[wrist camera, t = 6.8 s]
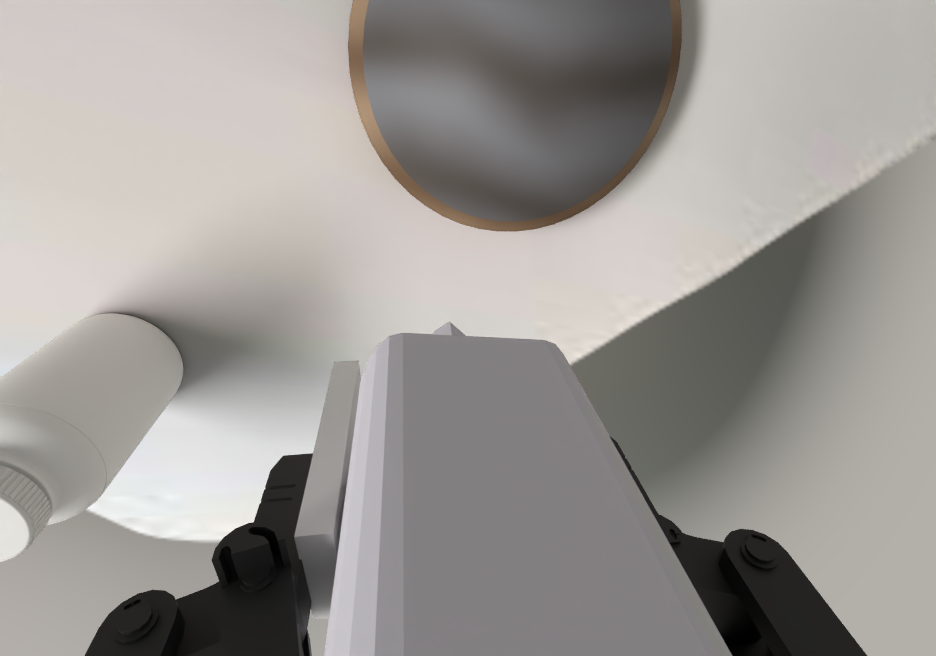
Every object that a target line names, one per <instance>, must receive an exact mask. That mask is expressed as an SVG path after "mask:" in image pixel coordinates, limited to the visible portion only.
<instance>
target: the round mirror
mask: <svg viewBox="0 0 936 656" xmlns="http://www.w3.org/2000/svg"><path fill="white" fill-rule="evenodd" d="M680 49H681V8H680V0H353V4H352V10H351V15H350V24H349V41H348V51H349V68H350V77H351V82H352V88H353V93H354V98H355V102H356V105H357V108H358V111H359V115H360V118H361V121H362V123H363V126H364V128H365V130H366V133H367V135H368V137H369V139H370V142H371V143H372V145H373V147H374V149H375V150H376V152H377V154H378V155H379V157H380V159H381V160H382V162H383V163H384V165H385V166H386V167H387V169H388V170H389V171H390V172H391V174H392V175H393V176H394V178H395V179H396V180H397V181H398V182H399V183H400V184H401V185H402V186H403V187H404V188H405V189H406V190H407V191H408V192H409V193H410V194H411V195H412V196H414V197H415V198H416V199H418V200H419V201H420V202H421V203H423V204H424V205H425V206H427V207H428V208H430V209H432V210H433V211H435V212H437V213H439V214H440V215H442V216H444V217H446V218H449V219H451V220H453V221H456V222H458V223H460V224H464V225H467V226H471V227H475V228H478V229H485V230H492V231H523V230H531V229H537V228H541V227H545V226H549V225H553V224H555V223H558V222H560V221H563V220H565V219H568V218H571V217H572V216H574V215H576V214H578V213H580V212H582V211H584V210H585V209H587V208H589V207H590V206H592V205H593V204H595V203H596V202H597V201H599V200H600V199H602V198H603V197H604V196H606V195H607V194H608V193H609V192H610V191H611V190H612V189H614V188H615V187H616V186H617V185H618V184H619V183H620V182H621V181H622V180H623V179H624V178H625V177H626V176H627V174H628V173H629V172H630V171H631V170H632V169H633V168H634V166H635V165H636V164H637V162H638V161H639V160H640V158H641V157H642V155H643V154H644V153H645V151H646V150H647V148H648V146H649V145H650V143H651V141H652V140H653V138H654V136H655V134H656V133H657V131H658V129H659V126H660V124H661V122H662V120H663V117H664V115H665V113H666V111H667V108H668V105H669V102H670V98H671V95H672V92H673V89H674V85H675V81H676V76H677V71H678V66H679V59H680Z"/></svg>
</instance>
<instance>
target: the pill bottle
mask: <svg viewBox="0 0 936 656" xmlns="http://www.w3.org/2000/svg"><path fill="white" fill-rule="evenodd" d="M182 378H183V362H182V358H181V356H180V353H179V351H178V349H177V347H176V346H175V344H174V343H173V342H172V340H171V339H170V338H169V337H168V336H167V335H166V334H165V333H164V332H162V331H161V330H160V329H158V328H157V327H155V326H154V325H152V324H150V323H148V322H146V321H144V320H142V319H139V318H136V317H133V316H129V315H124V314H99V315H94V316H91V317H88V318H85V319H83V320H81V321H79V322H77V323H75V324H73V325H72V326H70V327H69V328H68V329H66V330H65V331H63V332H62V333H61V334H59V335H58V336H57V337H55V338H54V339H53V340H51V341H50V342H49V343H47V344H46V345H44V346H43V347H42V348H40V349H39V350H38V351H36V352H35V353H34V354H32V355H31V356H30V357H28V358H27V359H26V360H24V361H23V362H21V363H20V364H19V365H17V366H16V367H15V368H13V369H12V370H11V371H9V372H8V373H7V374H5V375H4V376H2V377H1V378H0V562H2V561H6V560H9V559H11V558H13V557H15V556H18V555H20V553H23V552H24V551H25V550H27V549H28V548H29V547H30V546H31V544H32V543H33V542H34V540H35V539H36V538H37V537H38V535H39V534H40V533H41V532H42V530H43V529H44V528H45V526H46V525H49V524H54V523H58V522H61V521H64V520H67V519H69V518H71V517H74V516H75V515H77V514H79V513H81V512H82V511H84V510H85V509H87V508H88V507H89V506H91V505H92V504H93V503H94V502H96V501H97V499H98V498H99V497H100V496H101V495H102V494H103V492H104V491H105V490H106V488H107V487H108V486H109V484H110V483H111V482H112V480H113V479H114V477H115V476H116V475H117V473H118V472H119V471H120V469H121V468H122V467H123V465H124V464H125V462H126V461H127V460H128V458H129V457H130V456H131V454H132V453H133V451H134V450H135V449H136V447H137V446H138V445H139V443H140V442H141V441H142V439H143V438H144V436H145V435H146V434H147V432H148V431H149V430H150V428H151V427H152V425H153V424H154V423H155V421H156V420H157V419H158V417H159V416H160V415H161V413H162V412H163V410H164V409H165V408H166V406H167V405H168V404H169V402H170V401H171V399H172V398H173V397H174V395H175V394H176V392H177V390H178V388H179V386H180V384H181V381H182Z"/></svg>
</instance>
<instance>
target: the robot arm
mask: <svg viewBox="0 0 936 656" xmlns="http://www.w3.org/2000/svg"><path fill="white" fill-rule="evenodd" d="M360 382H361V377H360V369H359V361H342V362H334V365H333V369H332V374H331V378H330V382H329V387H328V391H327V395H326V400H325V404H324V408H323V413H322V417H321V422H320V426H319V430H318V435H317V439H316V443H315V448H314V452H313V454H300V455H287V456H283V457H282V458H281V459H280V460H279V461H278V463H277V464H276V465H275V466H274V467H273V468H272V470H271V471H270V474H269V477H268V480H267V483H266V486H265V487H266V489H265V490H264V493H263V496H262V499H261V503H260V505H259V508H258V511H257V514H256V517H255V520H254V522H253V523H248V524H246V525H243V526H241V527H238V528H236V529H235V530H233V531H232V532H231V533H229V534H228V535H227V536H225V537H224V538H223V539H222V540H221V542H220V543H219V544H218V546H217V547H216V548H215V551H214V555H213V558H212V562H213V565H214V568H215V570H216V573H217V576H218V579H219V582H217V583H216V584H214V585H212V586H210V587H208V588H205V589H203V590H200V591H198V592H195V593H193V594H190V595H187V596H185V597H182V598H179V599H177V600H175V598H174V596H173V595H171V594H169V593H168V592H166V591H161V590H151V591H147V592H143V593H139V594H137V595H135V596H133V597H131V598H129V599H128V600H126V601H124V602H123V603H121V604H120V605H119V606H118V607H117V608H116V609H114V610H113V611H112V612H111V613H110V614H109V615H108V616H107V618H106V619H105V620H104V622H103V623H102V625H101V626H100V627H99V629H98V631H97V633H96V635H95V637H94V639H93V641H92V643H91V645H90V646H89V648H88V650H87V652H86V654H85V656H312V654H311V645H310V638H309V634H308V630H307V626H308V620H309V614H310V609H311V610H312V615H313V619H314V620H316V619H325V618H329V616H330V608H331V601H332V593H333V586H334V578H335V570H336V563H337V555H338V548H339V540H340V533H341V525H342V518H343V510H344V502H345V495H346V487H347V480H348V472H349V465H350V457H351V450H352V442H353V434H354V427H355V419H356V412H357V404H358V397H359V389H360ZM610 438H611V437H610ZM611 440H612V442H613V444H614V445H615V447H616V449H617V451H618V453H619V454H620V456H621V458H622V460H623V461H624V463H625V465H626V467H627V469H628V470H629V472H630V474H631V476H632V478H633V479H634V481H635V483H636V485H637V486H638V488H639V490H640V492H641V494H642V495H643V497H644V499H645V501H646V503H647V504H648V506H649V508H650V510H651V511H652V513H653V515H654V517H655V519H656V520H657V522H658V524H659V526H660V528H661V529H662V531H663V533H664V535H665V536H666V538H667V540H668V542H669V544H670V545H671V547H672V549H673V551H674V553H675V554H676V556H677V558H678V560H679V561H680V563H681V565H682V567H683V569H684V570H685V572H686V574H687V576H688V578H689V579H690V581H691V583H692V585H693V586H694V588H695V590H696V592H697V594H698V595H699V597H700V599H701V601H702V603H703V604H704V606H705V608H706V610H707V611H708V613H709V615H710V617H711V619H712V620H713V622H714V624H715V626H716V628H717V629H718V631H719V633H720V635H721V637H722V638H723V640H724V642H725V644H726V645H727V647H728V649H729V651H730V653H731V654H732V656H867V655H866V654H865V652H864V651H863V650H862V648H861V647H860V646H859V645H858V643H857V642H856V641H855V639H854V638H853V637H852V636H851V634H850V633H849V632H848V630H847V629H846V628H845V626H844V625H843V624H842V622H841V621H840V620H839V619H838V618H837V616H836V615H835V614H834V612H833V611H832V609H831V608H830V607H829V606H828V604H827V603H826V602H825V600H824V599H823V598H822V596H821V595H820V594H819V593H818V591H817V590H816V589H815V588H814V586H813V585H812V583H811V582H810V581H809V580H808V578H807V577H806V576H805V574H804V573H803V572H802V570H801V569H800V568H799V567H798V565H797V564H796V563H795V561H794V560H793V559H792V557H791V556H790V555H789V554H788V552H787V551H786V550H785V549H784V548H783V547H782V546H781V545H780V544H779V543H778V542H776V541H775V540H773V539H771V538H770V537H768V536H767V535H765V534H762V533H759V532H756V531H754V530H746V529H739V530H735V531H732V532H730V533H729V534H728V535H727V537H726V538H725V540H724V542H719V541H713V540H708V539H702V538H697V537H693V536H690V535H686V534H684V533H682V532H681V530H680V529H679V528H678V527H677V526H676V525H675V524H674V523H673V522H672V521H670V520H668V519H667V518H665V517H663V516H661V515H659V514H658V513H657V511H656V510H655V508H654V506H653V504H652V503H651V501H650V499H649V498H648V496H647V494H646V492H645V490H644V489H643V487H642V485H641V484H640V482H639V480H638V478H637V476H636V475H635V473H634V471H633V470H632V469H631V466H630V464H629V462H628V461H627V459H625V455H624V454H623V452H622V450H621V448H620V447H619V445H618V443H617V442H616V441H615V440H614V439H612V438H611Z"/></svg>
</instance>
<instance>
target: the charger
mask: <svg viewBox="0 0 936 656" xmlns="http://www.w3.org/2000/svg"><path fill="white" fill-rule="evenodd" d="M324 656H732V654H731V653H730V651H729V649H728V647H727V645H726V644H725V642H724V640H723V638H722V637H721V635H720V633H719V631H718V629H717V628H716V626H715V624H714V622H713V620H712V619H711V617H710V615H709V613H708V611H707V610H706V608H705V606H704V604H703V603H702V601H701V599H700V597H699V595H698V594H697V592H696V590H695V588H694V586H693V585H692V583H691V581H690V579H689V578H688V576H687V574H686V572H685V570H684V569H683V567H682V565H681V563H680V561H679V560H678V558H677V556H676V554H675V553H674V551H673V549H672V547H671V545H670V544H669V542H668V540H667V538H666V536H665V535H664V533H663V531H662V529H661V528H660V526H659V524H658V522H657V520H656V519H655V517H654V515H653V513H652V511H651V510H650V508H649V506H648V504H647V503H646V501H645V499H644V497H643V495H642V494H641V492H640V490H639V488H638V486H637V485H636V483H635V481H634V479H633V478H632V476H631V474H630V472H629V470H628V469H627V467H626V465H625V463H624V461H623V460H622V458H621V456H620V454H619V453H618V451H617V449H616V447H615V445H614V444H613V442H612V440H611V438H610V436H609V435H608V433H607V431H606V429H605V428H604V426H603V424H602V422H601V420H600V419H599V417H598V415H597V414H596V412H595V410H594V408H593V406H592V404H591V403H590V401H589V399H588V398H587V395H586V394H585V392H584V390H583V388H582V387H581V385H580V383H579V381H578V379H577V378H576V376H575V374H574V372H573V370H572V369H571V367H570V365H569V363H568V361H567V360H566V358H565V356H564V354H563V353H562V352H561V351H560V349H559V348H558V347H557V346H556V344H554V343H551V342H548V341H545V340H532V339H513V338H493V337H473V336H465V335H464V334H463V333H462V332H461V331H460V330H459V329H457V328H456V327H455V326H454V325H453V324H452V323H451V322H448V323H446V324H445V325H443V326H442V327H440V328H439V329H437V330H435V331H434V333H433V334H414V333H400V334H396V335H391V336H389V337H388V338H386V339H385V340H384V341H382V342H381V343H380V344H379V345H377V347H376V348H375V350H374V351H373V353H372V355H371V356H370V358H369V359H368V361H367V363H366V366H365V369H364V372H363V375H362V378H361V382H360V389H359V397H358V404H357V412H356V419H355V427H354V434H353V442H352V450H351V457H350V465H349V472H348V480H347V487H346V495H345V502H344V510H343V518H342V525H341V533H340V540H339V548H338V555H337V563H336V570H335V578H334V586H333V593H332V601H331V608H330V616H329V623H328V631H327V639H326V647H325V654H324Z"/></svg>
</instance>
